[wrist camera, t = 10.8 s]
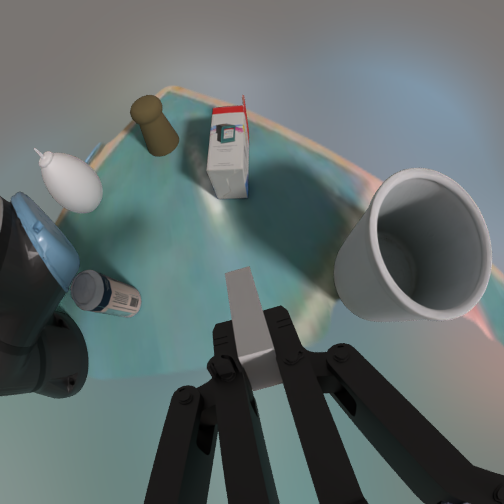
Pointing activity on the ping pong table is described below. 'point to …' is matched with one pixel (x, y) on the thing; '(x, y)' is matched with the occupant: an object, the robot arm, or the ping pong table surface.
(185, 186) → the ping pong table surface
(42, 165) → the air blower bulb
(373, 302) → the utensil holder
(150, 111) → the cork
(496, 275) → the ping pong table surface
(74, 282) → the beer can
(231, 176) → the ink box
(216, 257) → the ping pong table surface
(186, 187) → the ping pong table surface
